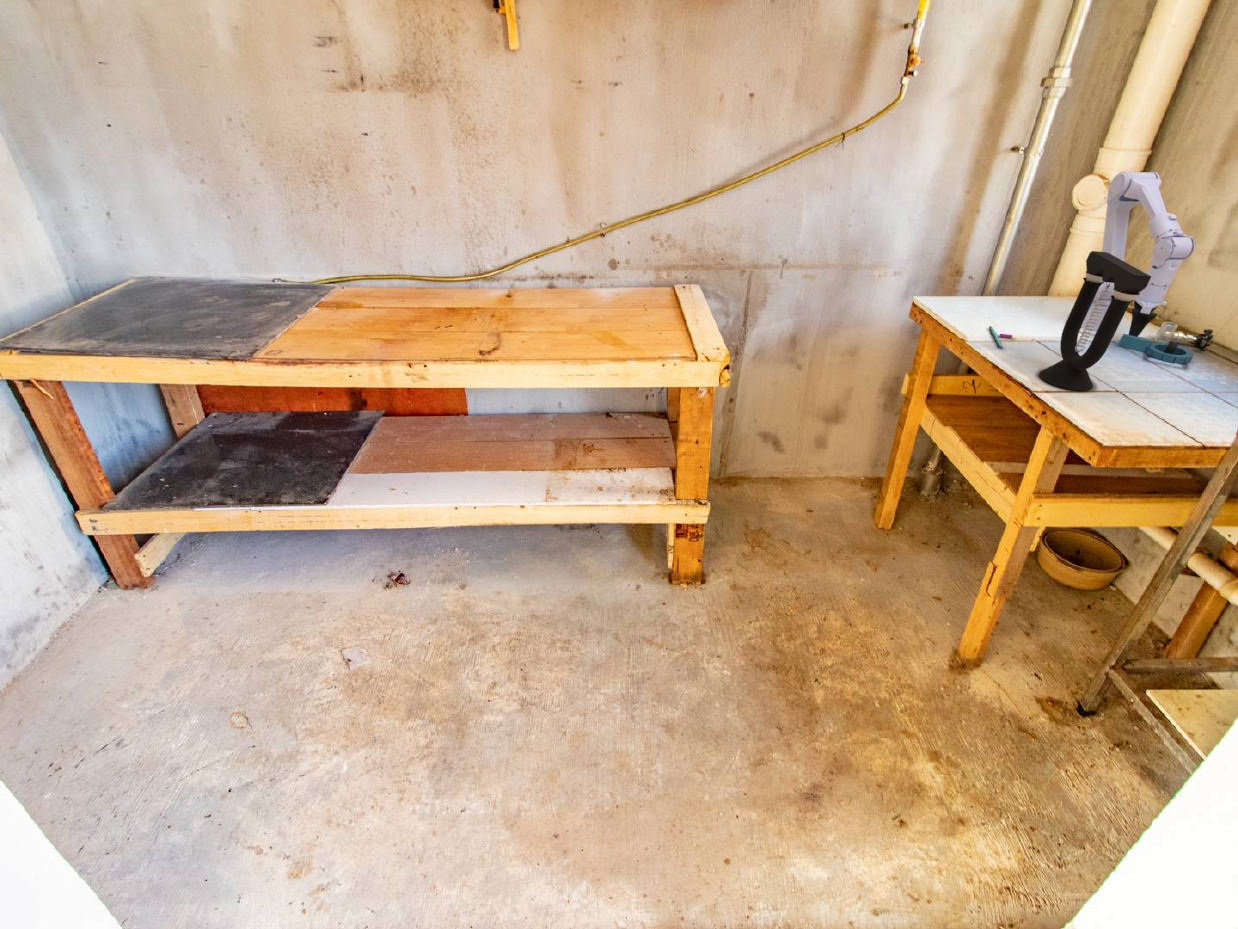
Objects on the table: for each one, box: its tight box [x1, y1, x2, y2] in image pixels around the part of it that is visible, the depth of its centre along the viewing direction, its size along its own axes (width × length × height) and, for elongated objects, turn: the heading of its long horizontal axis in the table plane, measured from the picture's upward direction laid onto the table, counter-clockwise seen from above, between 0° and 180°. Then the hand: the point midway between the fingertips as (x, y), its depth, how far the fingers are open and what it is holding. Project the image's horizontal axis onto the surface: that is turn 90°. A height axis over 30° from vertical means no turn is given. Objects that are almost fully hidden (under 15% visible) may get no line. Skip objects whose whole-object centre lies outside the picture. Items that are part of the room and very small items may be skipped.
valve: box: [1153, 321, 1214, 352], centre depth 185 cm, size 7×7×12 cm
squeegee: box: [988, 325, 1013, 349], centre depth 189 cm, size 15×1×5 cm
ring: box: [1117, 333, 1194, 365], centre depth 180 cm, size 17×10×3 cm, turn 53°
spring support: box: [1039, 250, 1151, 391], centre depth 160 cm, size 21×12×30 cm, turn 172°
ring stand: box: [1146, 340, 1188, 367], centre depth 178 cm, size 9×9×6 cm
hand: (1134, 331), depth 181 cm, fingers open, 7 cm apart
